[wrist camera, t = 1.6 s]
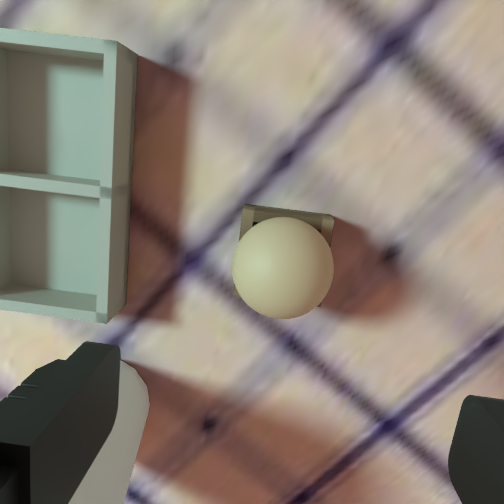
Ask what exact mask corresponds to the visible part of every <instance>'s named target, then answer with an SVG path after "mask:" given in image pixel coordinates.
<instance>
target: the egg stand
mask: <svg viewBox="0 0 504 504" xmlns="http://www.w3.org/2000/svg"><path fill="white" fill-rule="evenodd" d="M276 217H290V218H295V219H298V220H301V221H304V222H306V223H308V224H309V225H311V226H312V227H314V228H315V229H316V230H317V231H318V232H319V233H320V234H321V235H322V236H323V237H324V239H325V240H326V242H327V243H328V245H329V247H330V245H331V239H332V232H333V226H334V219H333V218H332V216H331V215H329V214H321V213H313V212H305V211H297V210H289V209H281V208H273V207H265V206H257V205H249V204H245V206H244V208H243V211H242V220H241V229H240V238H239V241H240V240H241V238H242V237H243V236H244V235H245V234H246V232H247V231H248V230H250V229H251V228H252V227H253V226H255V225H256V224H258V223H260V222H262V221H264V220H267V219H271V218H276ZM233 295H234V296H240V295H239V293H238V291H237V289H236V286H235V283H234V292H233ZM320 305H321V302H320V304H319V305H318V307H320Z"/></svg>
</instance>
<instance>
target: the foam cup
mask: <svg viewBox="0 0 504 504" xmlns="http://www.w3.org/2000/svg"><path fill="white" fill-rule="evenodd" d="M149 408H150V402H149V396H148V389H147V386H146V384H145V383H144V381H143V380H142V378H141V377H140V376H139V374H138V373H137V371H136V370H135V369H134V368H133V367H131V366H129V365H128V364H126V363H125V362H123V361H121V360H120V378H119V398H118V410H117V415H116V419H115V423H114V426H113V428H112V431H111V433H110V435H109V436H108V438H107V440H106V441H105V443H104V445H103V446H102V448H101V450H100V451H99V453H98V455H97V456H96V458H95V460H94V462H93V463H92V465H91V467H90V468H89V470H88V472H87V473H86V475H85V477H84V478H83V480H82V482H81V483H80V485H79V487H78V488H77V490H76V492H75V493H74V495H73V497H72V498H71V500H70V502H69V503H68V504H123V503H124V500H125V496H126V493H127V489H128V485H129V482H130V478H131V474H132V471H133V467H134V464H135V460H136V456H137V453H138V449H139V445H140V442H141V438H142V435H143V431H144V427H145V424H146V420H147V416H148V413H149V412H148V410H149Z"/></svg>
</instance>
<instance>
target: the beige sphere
mask: <svg viewBox="0 0 504 504" xmlns="http://www.w3.org/2000/svg"><path fill="white" fill-rule="evenodd" d="M232 275H233V280H234V283H235V286H236V289H237V291H238V293H239V295H240V296H241V297H242V299H243V300H244V301H245V302H246V303H247V304H248V305H249V306H250V307H251V308H252V309H254V310H255V311H257V312H258V313H260V314H262V315H265V316H268V317H271V318H276V319H290V318H295V317H299V316H302V315H304V314H306V313H308V312H309V311H311V310H313V309H314V308H315V307H316V306H318V305H319V304H320V302H321V301H322V300H323V299H324V298H325V296H326V295H327V293H328V291H329V289H330V286H331V284H332V280H333V275H334V261H333V256H332V253H331V249H330V247H329V245H328V243H327V242H326V240H325V239H324V237H323V236H322V235H321V234H320V233H319V232H318V231H317V230H316V229H315V228H314V227H312V226H311V225H309V224H308V223H306V222H304V221H301V220H298V219H295V218H290V217H276V218H271V219H267V220H264V221H262V222H260V223H258V224H256V225H255V226H253V227H252V228H251V229H250V230H248V231H247V232H246V234H245V235H244V236H243V237H242V238H241V240H240V241H239V243H238V245H237V247H236V249H235V252H234V256H233V261H232Z"/></svg>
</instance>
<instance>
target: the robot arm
mask: <svg viewBox="0 0 504 504" xmlns="http://www.w3.org/2000/svg"><path fill="white" fill-rule="evenodd" d="M119 378H120V348H119V346H117V345H110V344H102V343H95V342H88V341H86V342H84V343H83V344H82V345H81V346H80V347H79V348H78V349H77V350H76V351H75V352H74V353H73V354H72V355H71V356H70V357H69V358H68V359H67V360H60V359H57V360H55V361H53V362H51V363H49V364H47V365H45V366H42V367H40V368H38V369H36V370H35V371H34V372H33V373H32V374H31V375H30V376H28V377H27V378H26V379H25V380H24V381H23V382H22V383H21V386H17V387H16V388H15V389H14V390H13V391H12V392H11V393H10V394H9V395H8V398H6V397H5V398H4V399H3V400H2V401H1V402H0V504H68V503H69V502H70V500H71V498H72V497H73V495H74V493H75V492H76V490H77V488H78V487H79V485H80V483H81V482H82V480H83V478H84V477H85V475H86V473H87V472H88V470H89V468H90V467H91V465H92V463H93V462H94V460H95V458H96V456H97V455H98V453H99V451H100V450H101V448H102V446H103V445H104V443H105V441H106V440H107V438H108V436H109V435H110V433H111V431H112V428H113V426H114V423H115V419H116V415H117V410H118V398H119ZM448 468H449V475H450V479H451V482H452V484H453V486H454V488H455V490H456V492H457V494H458V496H459V498H460V500H461V502H462V504H504V400H503V399H496V398H489V397H481V396H474V395H469V396H467V397H466V398H465V399H464V401H463V403H462V406H461V410H460V414H459V418H458V421H457V425H456V429H455V433H454V436H453V440H452V444H451V448H450V452H449V458H448Z"/></svg>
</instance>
